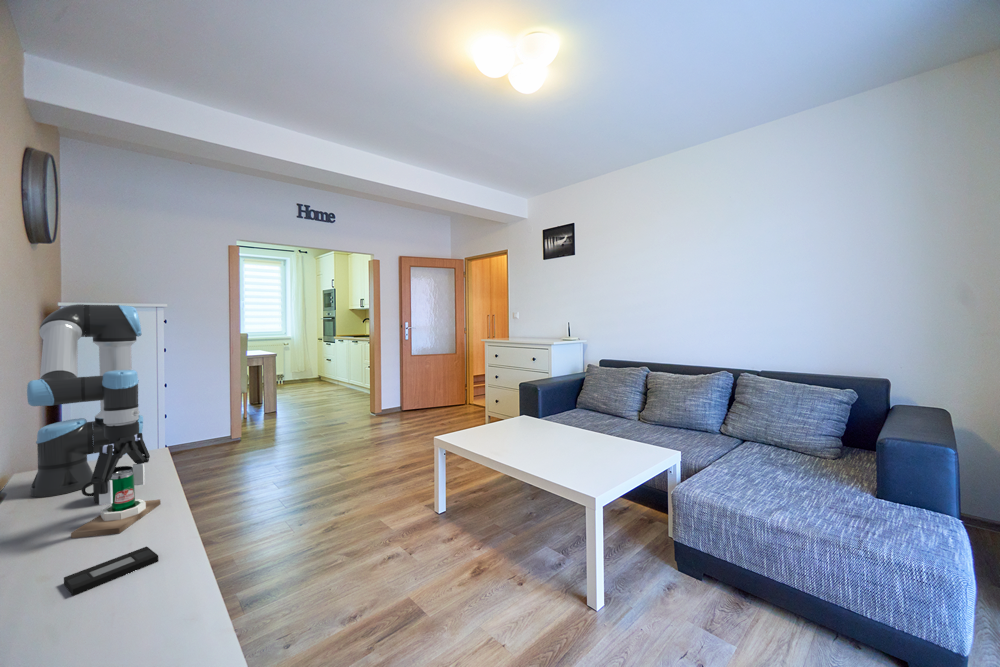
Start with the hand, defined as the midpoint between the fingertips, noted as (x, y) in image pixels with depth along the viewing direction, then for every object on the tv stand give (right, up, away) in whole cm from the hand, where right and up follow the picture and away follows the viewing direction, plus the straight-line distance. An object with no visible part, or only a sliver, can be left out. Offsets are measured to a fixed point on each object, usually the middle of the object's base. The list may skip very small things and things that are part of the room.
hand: (123, 493), depth 117 cm
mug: (-17, -7, +13) cm, 23 cm away
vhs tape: (+22, -9, -25) cm, 35 cm away
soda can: (0, -6, 0) cm, 6 cm away
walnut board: (0, -7, -1) cm, 7 cm away
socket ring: (0, -6, 0) cm, 6 cm away
